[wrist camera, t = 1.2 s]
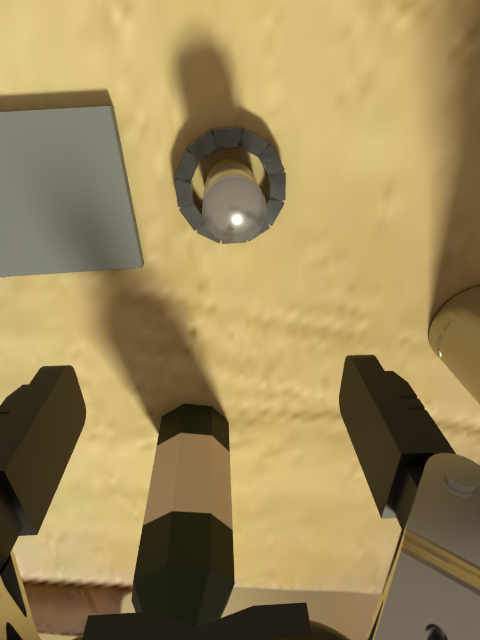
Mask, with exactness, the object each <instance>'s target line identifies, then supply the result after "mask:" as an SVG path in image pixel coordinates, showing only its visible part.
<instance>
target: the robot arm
mask: <svg viewBox="0 0 480 640" xmlns="http://www.w3.org/2000/svg"><path fill="white" fill-rule="evenodd" d="M429 342H430V345H431V348H432V350H433V351H434V352H435V353H436V354H437V356H438V357H439V358H440V359H441V360H442V361H443V363H444V364H445V365H446V366H447V367H448V368H449V369H450V371H451V372H452V373H453V374H454V375H455V377H456V378H457V379H458V380H459V381H460V382H461V384H462V385H463V386H464V387H465V388H466V389H467V390H468V392H469V393H470V394H471V395H472V396H473V397H474V398H475V400H476V401H477V402H478V403H479V404H480V286H477V287H473V288H471V289H468V290H466V291H463V292H462V293H460V294H458V295H457V296H455V297H453V298H452V299H451V300H450V301H448V302H447V303H446V304H445V305H444V306H443V307H442V308H441V309H440V311H439V312H438V313H437V315H436V316H435V318H434V319H433V321H432V324H431V327H430V331H429ZM339 406H340V412H341V415H342V418H343V421H344V423H345V426H346V428H347V431H348V434H349V436H350V439H351V441H352V444H353V446H354V449H355V452H356V454H357V457H358V459H359V462H360V464H361V467H362V470H363V472H364V475H365V477H366V480H367V482H368V485H369V488H370V490H371V493H372V495H373V498H374V500H375V503H376V506H377V508H378V511H379V513H380V516H381V518H397V519H398V522H399V524H400V526H401V529H402V530H401V532H400V535H399V538H398V542H397V545H396V548H395V551H394V554H393V558H392V561H391V564H390V567H389V570H388V574H387V577H386V580H385V583H384V586H383V590H382V593H381V596H380V600H379V603H378V605H377V608H376V612H375V614H374V618H373V620H372V623H371V626H370V629H369V632H368V636H367V639H366V640H480V465H478V464H477V463H475V462H473V461H472V460H470V459H468V458H466V457H463V456H460V455H457V454H456V453H455V452H454V450H453V449H452V447H451V446H450V444H449V443H448V441H447V440H446V438H445V437H444V435H443V434H442V432H441V431H440V429H439V428H438V426H437V425H436V423H435V422H434V421H433V419H432V418H431V416H430V415H429V413H428V412H427V410H425V409H424V406H423V404H422V403H421V401H420V400H419V399H417V395H416V394H415V392H414V391H413V389H412V388H411V386H410V385H409V383H408V382H407V381H405V380H404V379H403V378H401V377H400V376H399V375H397V374H396V373H395V372H394V371H384V369H383V368H382V366H381V365H380V363H379V361H378V360H377V358H376V357H375V356H374V355H350V356H347V357H346V359H345V363H344V369H343V375H342V381H341V388H340V394H339ZM85 418H86V407H85V402H84V399H83V396H82V393H81V389H80V386H79V383H78V379H77V376H76V373H75V370H74V368H73V367H72V366H70V365H66V366H43V367H41V368H40V369H39V371H38V372H37V374H36V375H35V377H34V378H33V379H32V381H31V382H30V384H29V385H22V386H21V387H19V388H18V389H17V390H16V391H14V392H13V393H12V394H10V395H9V396H8V397H6V399H5V400H4V401H3V403H2V404H1V405H0V640H41V639H40V637H39V635H38V632H37V630H36V627H35V625H34V621H33V618H32V615H31V611H30V608H29V604H28V601H27V597H26V593H25V590H24V586H23V583H22V579H21V576H20V572H19V569H18V565H17V562H16V558H15V555H14V553H13V551H12V548H13V546H14V544H15V542H16V540H17V538H18V536H25V535H37V534H38V532H39V529H40V527H41V525H42V522H43V520H44V518H45V515H46V513H47V511H48V508H49V506H50V504H51V501H52V499H53V497H54V494H55V492H56V490H57V487H58V485H59V483H60V480H61V478H62V476H63V473H64V471H65V469H66V466H67V464H68V462H69V459H70V457H71V455H72V452H73V450H74V448H75V445H76V443H77V441H78V438H79V436H80V434H81V431H82V429H83V427H84V423H85ZM73 640H350V639H348V638H347V637H346V636H344V635H343V634H341V633H339V632H338V631H336V630H334V629H332V628H331V627H328V626H326V625H324V624H321V623H319V622H315V621H312V620H309V616H308V610H307V604H306V603H293V604H276V605H260V606H252V607H249V608H246V609H244V610H241V611H239V612H236V613H234V614H231V615H228V616H226V617H223V618H220V619H218V620H215V621H213V622H210V623H207V624H205V625H202V626H191V625H187V624H184V623H180V622H176V621H173V620H169V619H165V618H162V617H158V616H154V615H150V614H147V613H143V612H141V613H124V614H107V615H90V616H88V619H87V623H86V626H85V630H84V634H83V635H81V636H79V637H76V638H75V639H73Z"/></svg>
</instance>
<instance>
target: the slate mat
mask: <svg viewBox="0 0 480 640" xmlns="http://www.w3.org/2000/svg"><path fill="white" fill-rule="evenodd" d="M143 265H144V260H143V255H142V250H141V245H140V240H139V235H138V229H137V224H136V219H135V214H134V209H133V204H132V199H131V194H130V188H129V183H128V178H127V173H126V168H125V163H124V158H123V153H122V148H121V142H120V137H119V132H118V127H117V122H116V117H115V112H114V107H113V106H97V107H79V108H62V109H44V110H27V111H9V112H0V277H10V276H25V275H40V274H54V273H69V272H84V271H99V270H114V269H129V268H142V267H143Z"/></svg>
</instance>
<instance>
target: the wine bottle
mask: <svg viewBox="0 0 480 640" xmlns="http://www.w3.org/2000/svg"><path fill="white" fill-rule="evenodd" d="M234 584H235V583H234V556H233V529H232V503H231V476H230V449H229V423H228V422H227V421H226V420H225V419H224V418H223V417H222V416H221V415H220V414H219V413H218V412H217V411H216V410H215V409H214V408H213V407H209V406H199V405H189V404H183V405H181V406H180V407H178V408H176V409H174V410H173V411H171V412H169V413H167V414H166V415H164V416H162V419H161V425H160V430H159V436H158V442H157V448H156V453H155V459H154V465H153V471H152V476H151V482H150V488H149V494H148V499H147V505H146V511H145V517H144V522H143V528H142V534H141V540H140V545H139V551H138V557H137V563H136V568H135V574H134V580H133V591H132V603H133V606H134V608H135V612H136V613H141V612H143V613H147V614H150V615H154V616H158V617H162V618H165V619H169V620H173V621H176V622H180V623H184V624H187V625H191V626H202V625H205V624H207V623H210V622H213V621H215V620H218V619H220V618H221V616H222V614H223V612H224V610H225V607H226V605H227V603H228V600H229V597H230V594H231V592H232V589H233V586H234Z"/></svg>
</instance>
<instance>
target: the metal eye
mask: <svg viewBox="0 0 480 640" xmlns="http://www.w3.org/2000/svg"><path fill="white" fill-rule="evenodd" d="M213 132H214V134H213V133H212V131H211V130H209V131H208V132H206V133H205V134H204V135H202V136H201V137H200V138H198V139H197V140H196V141H194V142H193V143H191V144H190V145H189V146H188V147H187V148H188V149H186V150H185V152H184V155H183V157H182V160H181V162H180V165H179V167H178V170H177V172H176V175H175V177H176V178H175V180H174V181H175V188H176V196H177V203H178V207H180V209H179V210H180V212H181V213H182V214H183V216H184V217H185V219H186V220H187V221H188V223H189V224H190V225H191V227H192V228H193V229H194V231H195V230H197V233H198V234H200V235H203V236H205V237H207V238H209V239H211V240H213V241H215V242H217V243H220V241H221V240H220V239H218V238H216V237H215V236H214V235H213V234H212V233H211V232H210V231H209V230H208V229H207V227H206V225H205V223H204V220H203V215H202V210H201V208H200V207H199V205H198V204H197V202H196V201H195V200H194V193H193V184H192V177H193V175H194V173H195V170H196V168H197V166H198V163H199V161H200V160H202V159H203V158H204V157H206V156H207V155H208V154H210V153H211V152H213V151H214V150H215V149H217V148H225V147H241V148H243V149H245V150H247V151H248V152H250V153H252V154H254V155H255V156H257V157H258V158H259V159H260V161H261V163H262V165H263V166H264V168H265V170H266V172H267V173H268V195H267V197H266V199H265V200H266V204H267V216H266V220H265V223H264V225H263V227H262V228H261V230H260V231H259V232H258V233H257V234H256V235H255V236H254V237H252V238H251V239H249V240H248V241H250V240H252V239H254V238H255V237H257V236H258V235H260V234H261V233H263V232H264V231H266V230H268V229H269V228H270V227H269V225H271V226H272V225H273V223H274V221H275V219H276V218H277V216H278V214H279V212H280V210H281V209H282V207H283V205H284V202H283V200H285V187H286V173H285V172H284V170H285V169H284V167H283V165H282V163H281V162H280V160H279V158H278V156H277V154H276V152H275V151H274V149H273V147H272V145H271V144H269V142H268V141H266V140H264V139H263V138H261V137H259V136H257V135H256V134H254V133H252V132H251V131H249V130H247V129H245V128H244V127H243V129H241V127H226V128H213ZM268 224H269V225H268ZM244 242H246V241H244ZM240 243H243V242H240ZM222 244H228V242H224V241H222Z"/></svg>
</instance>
